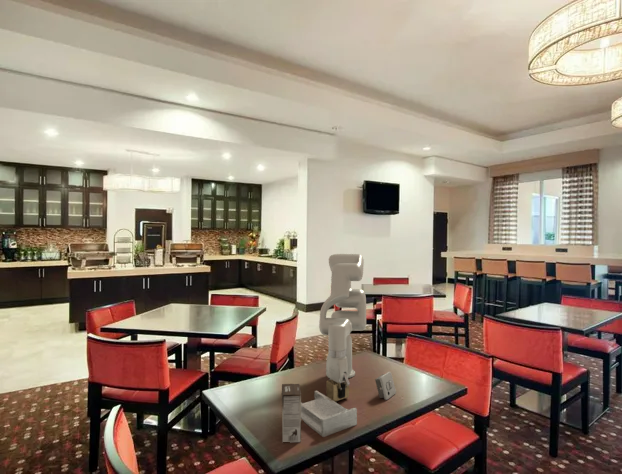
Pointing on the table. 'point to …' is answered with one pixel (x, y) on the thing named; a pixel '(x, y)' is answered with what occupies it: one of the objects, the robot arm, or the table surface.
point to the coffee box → (291, 413)
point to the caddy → (327, 415)
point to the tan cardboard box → (335, 390)
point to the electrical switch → (385, 386)
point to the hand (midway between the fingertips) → (337, 394)
